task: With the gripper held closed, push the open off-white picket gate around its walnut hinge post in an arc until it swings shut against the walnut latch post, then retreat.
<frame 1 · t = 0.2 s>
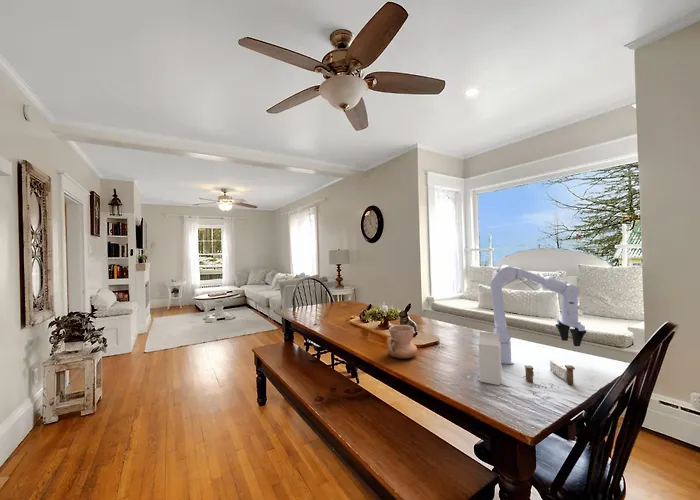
hand: (570, 343, 130), 10 cm above the table, fingers open, 7 cm apart
gate: (559, 370, 120), point 2 cm above the table, hinge at -80.0°
ceramic jug: (401, 356, 149), on the table
milk carton: (490, 380, 119), on the table
hinge post: (570, 384, 113), on the table
latch post: (529, 381, 117), on the table
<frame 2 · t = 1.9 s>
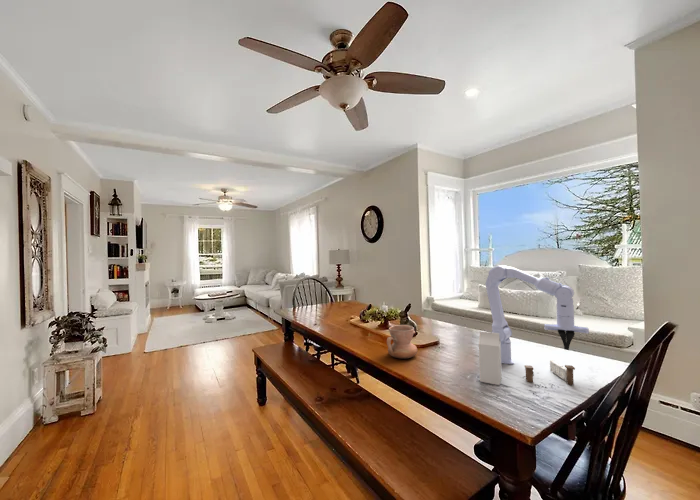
hand: (566, 349, 122), 10 cm above the table, fingers closed
nothing on the table moved.
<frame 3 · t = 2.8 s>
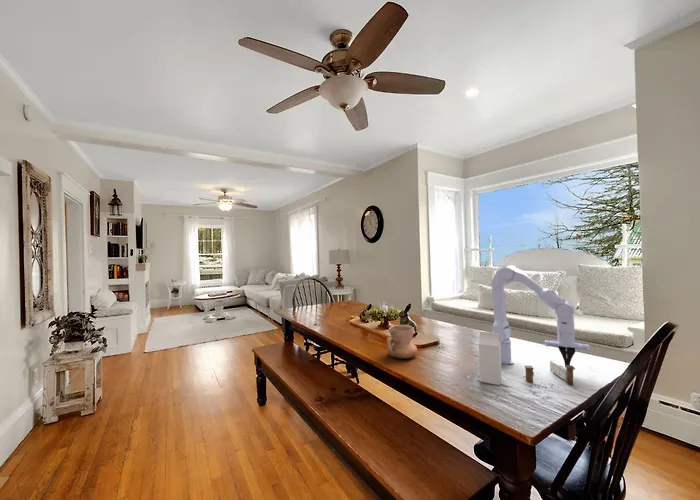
hand: (567, 365, 122), 4 cm above the table, fingers closed
nothing on the table moved.
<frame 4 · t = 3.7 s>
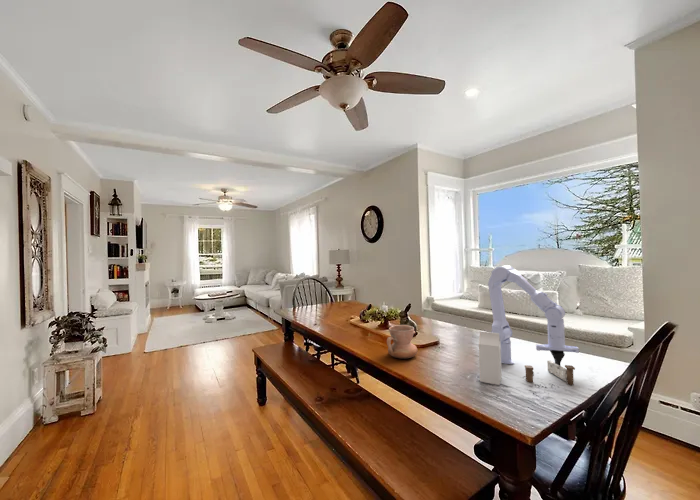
hand: (557, 368, 122), 2 cm above the table, fingers closed, pressing on gate
gate: (557, 370, 120), point 2 cm above the table, hinge at -74.7°, touching gripper
everything else where it was.
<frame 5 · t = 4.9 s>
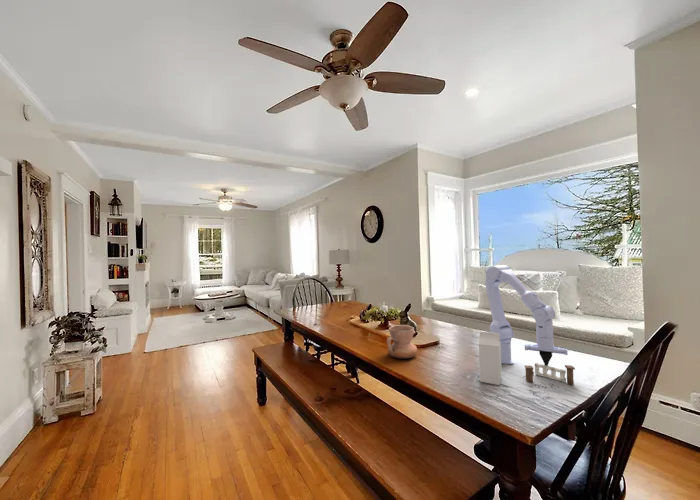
hand: (546, 369, 122), 2 cm above the table, fingers closed, pressing on gate
gate: (549, 372, 119), point 2 cm above the table, hinge at -38.1°, touching gripper
everything else where it was.
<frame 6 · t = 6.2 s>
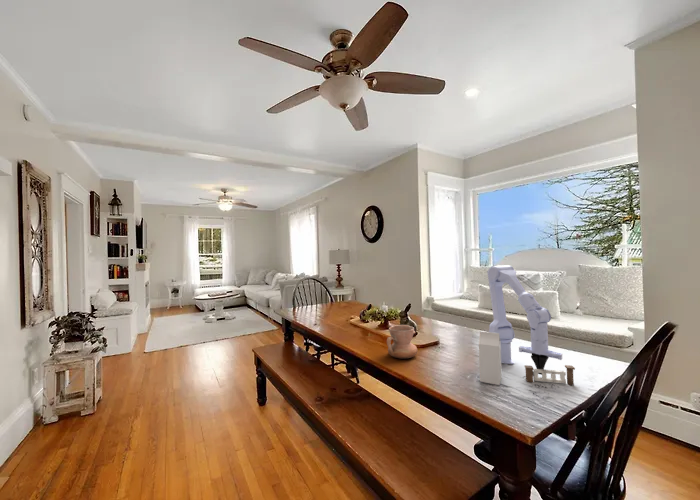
hand: (540, 373, 119), 2 cm above the table, fingers closed
gate: (549, 375, 115), point 2 cm above the table, hinge at -2.8°
everything else where it was.
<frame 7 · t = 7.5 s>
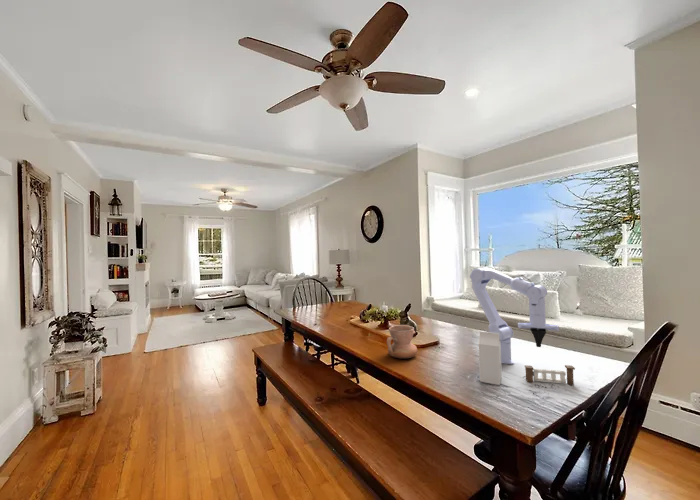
hand: (538, 346, 126), 10 cm above the table, fingers closed
nothing on the table moved.
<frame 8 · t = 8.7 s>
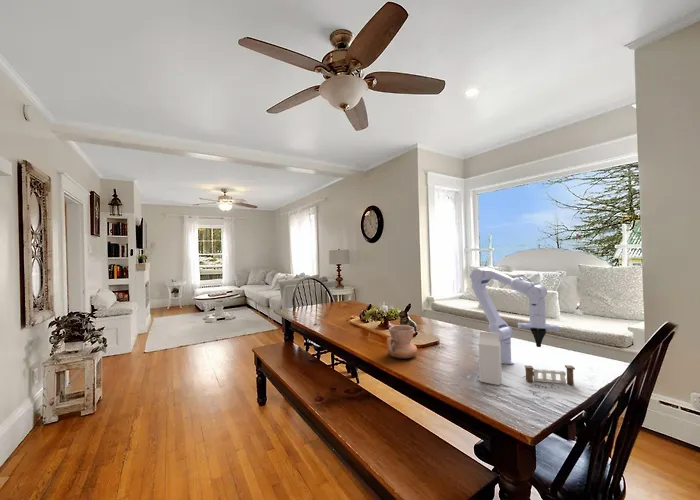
hand: (538, 346, 126), 10 cm above the table, fingers closed
nothing on the table moved.
at the end: gate at -3° (first picture: -80°) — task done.
